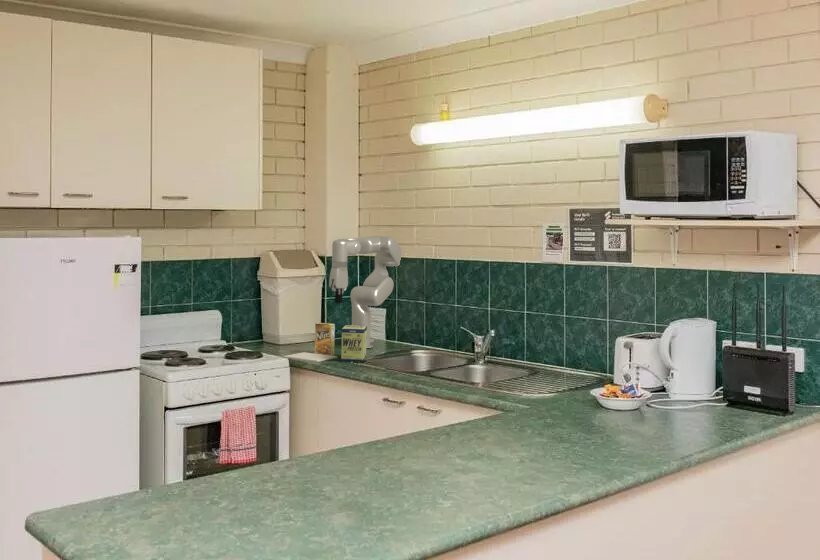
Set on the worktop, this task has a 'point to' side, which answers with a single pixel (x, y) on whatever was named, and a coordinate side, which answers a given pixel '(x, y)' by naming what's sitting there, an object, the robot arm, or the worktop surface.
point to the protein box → (353, 343)
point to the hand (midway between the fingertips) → (338, 302)
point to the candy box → (324, 338)
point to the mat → (310, 356)
